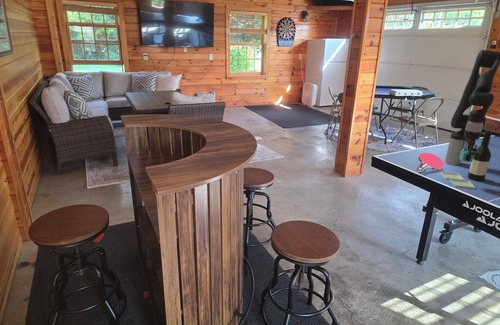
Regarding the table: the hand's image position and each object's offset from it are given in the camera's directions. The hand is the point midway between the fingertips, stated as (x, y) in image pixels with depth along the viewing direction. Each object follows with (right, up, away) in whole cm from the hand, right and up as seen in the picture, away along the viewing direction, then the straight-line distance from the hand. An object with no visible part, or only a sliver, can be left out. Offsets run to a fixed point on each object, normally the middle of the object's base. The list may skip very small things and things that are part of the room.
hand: (465, 159), depth 183 cm
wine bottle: (+13, -12, +11) cm, 21 cm away
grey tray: (0, -11, +13) cm, 17 cm away
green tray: (-1, -15, +3) cm, 15 cm away
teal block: (0, -1, 0) cm, 1 cm away
